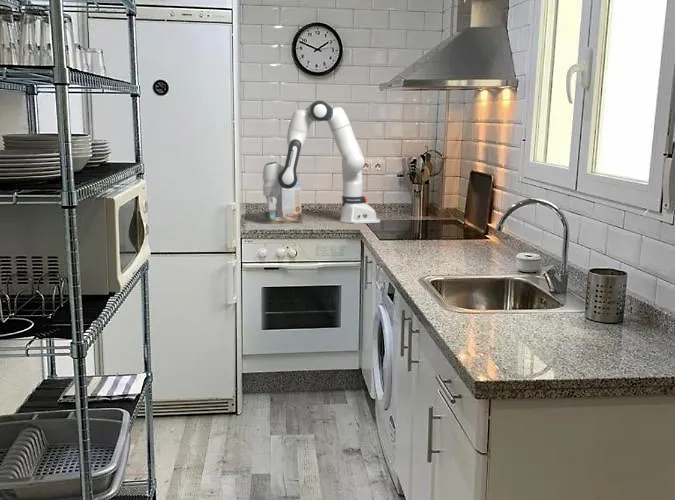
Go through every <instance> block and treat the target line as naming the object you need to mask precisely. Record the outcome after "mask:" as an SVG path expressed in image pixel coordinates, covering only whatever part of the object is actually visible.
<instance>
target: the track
mask: <svg viewBox="0 0 675 500" xmlns="http://www.w3.org/2000/svg"><path fill="white" fill-rule="evenodd" d="M268 212H269V210H268V211H264V224H267V225H268V224H269V225H270V224H274V225H275V224H276V225H277V224H303V221H302V220H303V219H302V216H301V214H298V217H277V216H276V220H269V221H268Z"/></svg>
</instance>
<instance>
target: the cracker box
mask: <svg viewBox="0 0 675 500" xmlns="http://www.w3.org/2000/svg"><path fill="white" fill-rule="evenodd" d="M302 212H303V209H302V180H297V183H296V185H295V186H294V187H293V188H290V189H286V188H283V187H282V186H281V185H279V196H277V198H276V217H298V214H301V217H302V216H303V214H302Z"/></svg>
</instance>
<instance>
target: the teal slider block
mask: <svg viewBox="0 0 675 500" xmlns="http://www.w3.org/2000/svg"><path fill="white" fill-rule="evenodd" d="M276 217H277V211H274V217H273V218H270V212H269V211H268V221H269V220H276Z"/></svg>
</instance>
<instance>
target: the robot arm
mask: <svg viewBox="0 0 675 500" xmlns="http://www.w3.org/2000/svg"><path fill="white" fill-rule="evenodd" d="M290 118H291V119H290V121H289V125H288V128H287V134H286V144H287V153H286V158H285V164H284V165H282V164H280V162H277V161H271V162H267V163H266V164H264V165H263V169H262V170H263V172H262V180H263V186H262V190H263V191H262V192H263V193H262V196H265V199H266V204H267V205H266V206H267V209H268V212H270V218H273V217H274V212H276V211H277V202H276V200H277V196H279V185H281V186H282V187H283V188H286V189H290V188H293V187H294V186H295V185H296V183H297V181H298V176H297V166H298V163H299V162H298V161H299V158H300V154H301V151H302V150H303V148H304V146H305V145H306V144H305V143H306V141H307V138H308V135H309V132H310V128H311V125H312V123H313V122H327V124H328V126H329V128H330V131H331V133H332V137H333V139H334V142H335V144H336V147H337V149H338V151H339V153H340V156H341V172H342V173H341V174H342V196H341V215H340V219H339V222H341V223H345V224H346V223H347V224H354V225H355V224H379V223H381V219H380V218H378V217H377V212H376V210H375V209H374V208H373V207H372V206H370V205H369V204H368V203H367V202H368V201H369V198H368V197H366V196H364V194H363V193H364V181H363V180H364V179H363V171H362V170H363V168H364V166H365V164H366V162H365V161H366V160H365V157H364V154H363V152H362V150H361V149H362V148H361V146H360V144H359V142H358V139H357V138H356V135H355V133H354V130H353V127H352V125H351V122H350V119H349V117H348V115H347V113H346V112H345V110H344V108H343V107H340V106H335V107H331V105H329V104H328V103H327V102H325V100H324V101H323V100H319V99H318V100H314V101H313V102H311V103H310V104H309V105H308V107H306V109H297V110H295V111H294V112H293V113H292V116H291V117H290Z"/></svg>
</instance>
